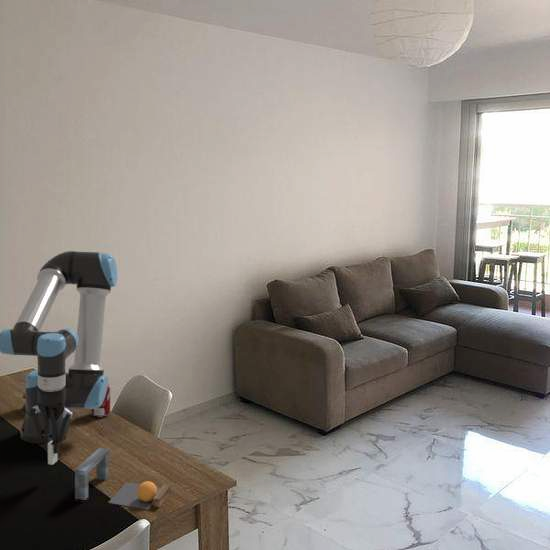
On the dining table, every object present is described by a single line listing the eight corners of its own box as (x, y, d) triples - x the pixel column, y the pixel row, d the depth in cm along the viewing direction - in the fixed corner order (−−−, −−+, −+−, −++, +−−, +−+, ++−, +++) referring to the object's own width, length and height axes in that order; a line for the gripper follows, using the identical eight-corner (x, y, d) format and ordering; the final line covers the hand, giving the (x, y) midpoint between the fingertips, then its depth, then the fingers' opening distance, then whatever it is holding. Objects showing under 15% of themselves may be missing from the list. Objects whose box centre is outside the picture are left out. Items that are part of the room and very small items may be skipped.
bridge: (75, 499, 174) (75, 469, 173) (99, 476, 188) (99, 447, 187) (84, 501, 174) (85, 471, 172) (108, 477, 188) (109, 449, 186)
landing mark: (108, 503, 174) (108, 502, 174) (126, 482, 185) (126, 482, 185) (148, 510, 172) (148, 509, 171) (164, 488, 183) (164, 488, 183)
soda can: (104, 419, 230) (105, 388, 228) (88, 416, 231) (88, 386, 229) (113, 412, 236) (113, 382, 234) (96, 410, 238) (97, 380, 236)
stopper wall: (152, 506, 173) (153, 498, 173) (163, 492, 181) (163, 484, 181) (159, 507, 173) (159, 499, 173) (170, 493, 181) (170, 485, 180)
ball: (139, 508, 174) (130, 491, 174) (147, 498, 179) (138, 481, 179) (156, 501, 173) (147, 484, 172) (163, 491, 178) (154, 475, 178)
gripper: (23, 388, 176) (25, 464, 181) (65, 394, 174) (66, 471, 178) (38, 379, 184) (40, 453, 188) (79, 385, 181) (79, 459, 186)
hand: (52, 462), depth 183 cm, fingers closed
